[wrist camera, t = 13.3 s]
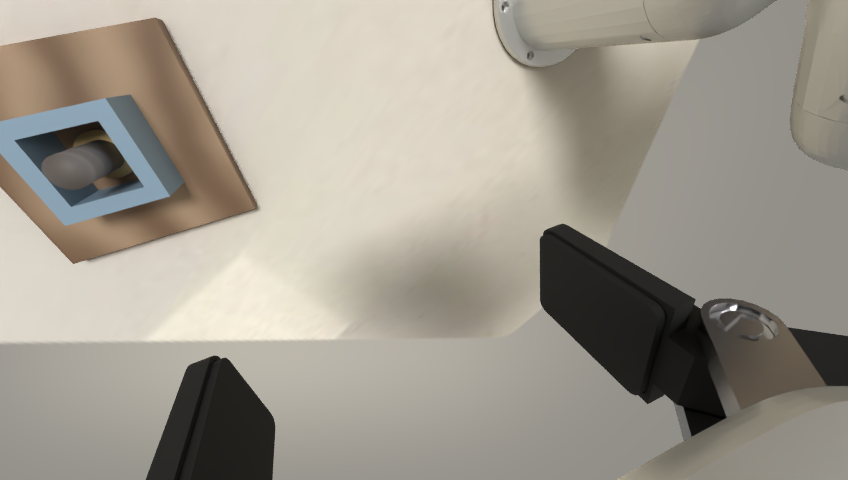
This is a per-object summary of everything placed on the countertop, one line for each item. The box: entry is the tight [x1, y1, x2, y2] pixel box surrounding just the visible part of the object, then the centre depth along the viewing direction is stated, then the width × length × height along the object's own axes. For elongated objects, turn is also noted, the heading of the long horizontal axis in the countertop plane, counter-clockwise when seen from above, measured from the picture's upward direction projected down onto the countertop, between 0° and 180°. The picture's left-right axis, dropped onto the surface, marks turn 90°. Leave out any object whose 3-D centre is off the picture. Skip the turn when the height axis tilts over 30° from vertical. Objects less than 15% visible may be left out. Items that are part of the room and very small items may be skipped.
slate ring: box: [0, 94, 184, 226], centre depth 25 cm, size 7×7×4 cm
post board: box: [0, 18, 256, 264], centre depth 25 cm, size 16×16×8 cm
